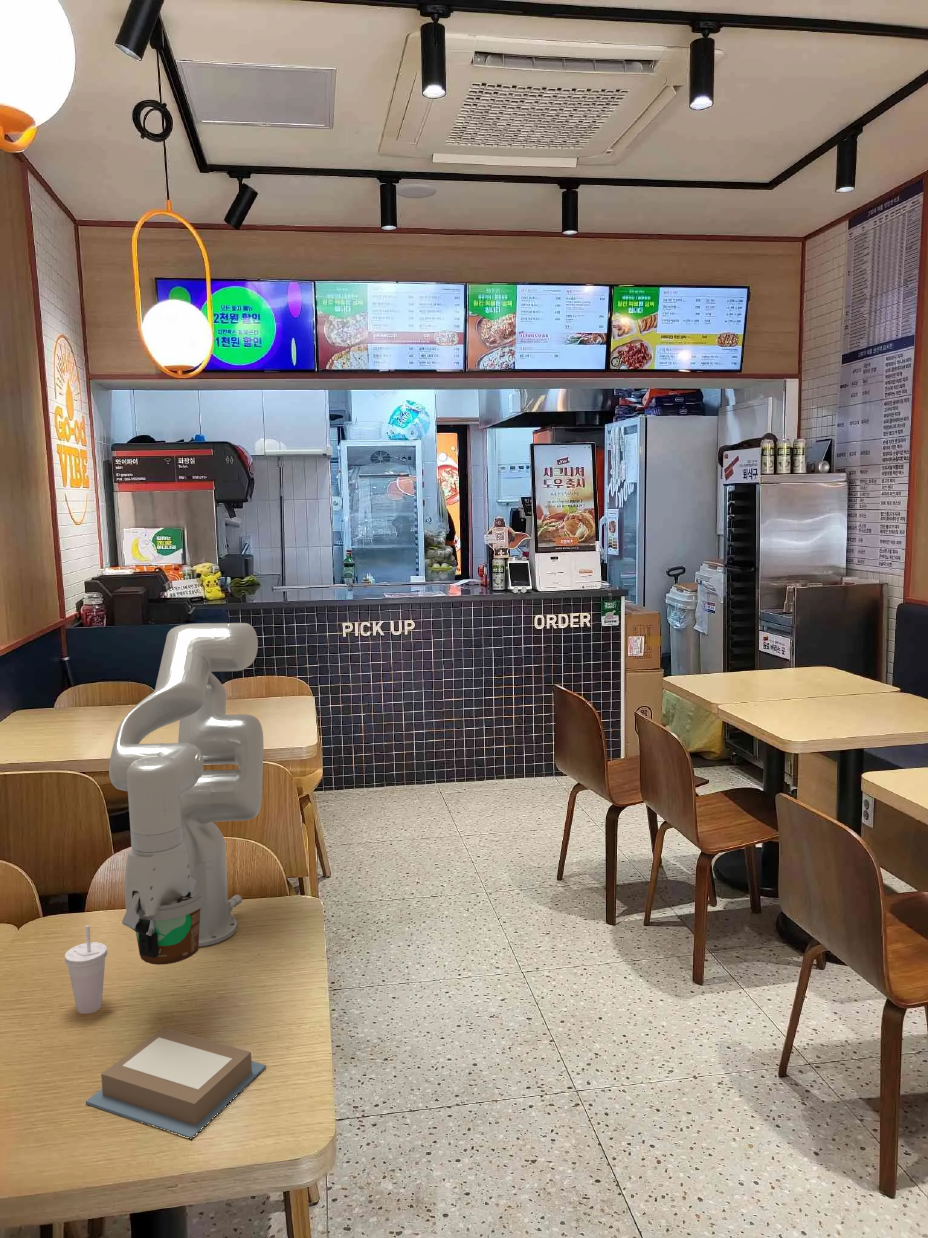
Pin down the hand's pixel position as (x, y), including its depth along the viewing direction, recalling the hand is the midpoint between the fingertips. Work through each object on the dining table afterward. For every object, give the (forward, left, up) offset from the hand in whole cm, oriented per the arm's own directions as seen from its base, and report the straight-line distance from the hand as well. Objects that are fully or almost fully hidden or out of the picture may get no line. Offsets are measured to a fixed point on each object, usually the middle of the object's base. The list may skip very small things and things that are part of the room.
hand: (163, 944), depth 139 cm
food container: (+1, 0, -2) cm, 2 cm away
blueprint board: (+13, +13, -12) cm, 22 cm away
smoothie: (+3, -14, -12) cm, 19 cm away
